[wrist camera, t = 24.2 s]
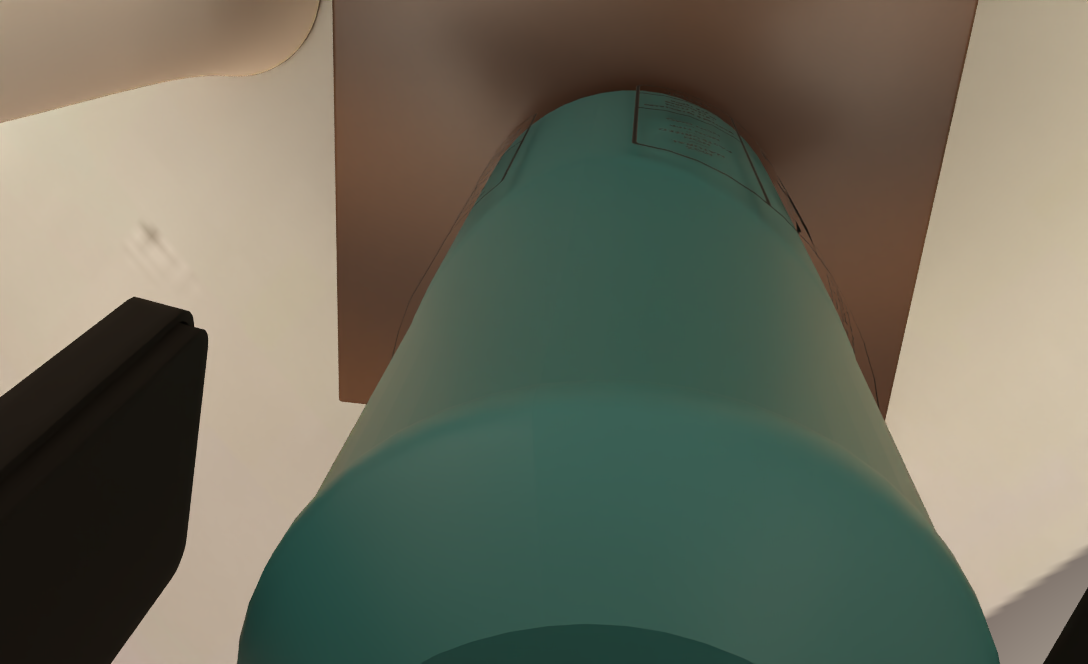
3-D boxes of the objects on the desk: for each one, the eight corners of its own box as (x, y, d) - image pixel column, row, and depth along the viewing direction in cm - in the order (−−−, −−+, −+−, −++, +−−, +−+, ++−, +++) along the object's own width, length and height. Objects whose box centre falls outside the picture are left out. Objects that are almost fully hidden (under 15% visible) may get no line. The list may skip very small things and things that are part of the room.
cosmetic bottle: (157, 80, 33) (-607, 355, 13) (113, -121, 31) (-898, -168, 11) (336, 69, 32) (-179, 341, 12) (305, -138, 30) (-392, -224, 10)
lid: (337, -385, 19) (228, -485, 14) (1042, -348, 18) (1187, -441, 13) (347, 387, 26) (274, 502, 21) (870, 442, 25) (925, 575, 20)
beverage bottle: (427, 169, 22) (-574, 1343, 4) (690, 0, 21) (1023, 778, 2) (583, 398, 24) (373, 1926, 6) (838, 262, 22) (1696, 1889, 4)
